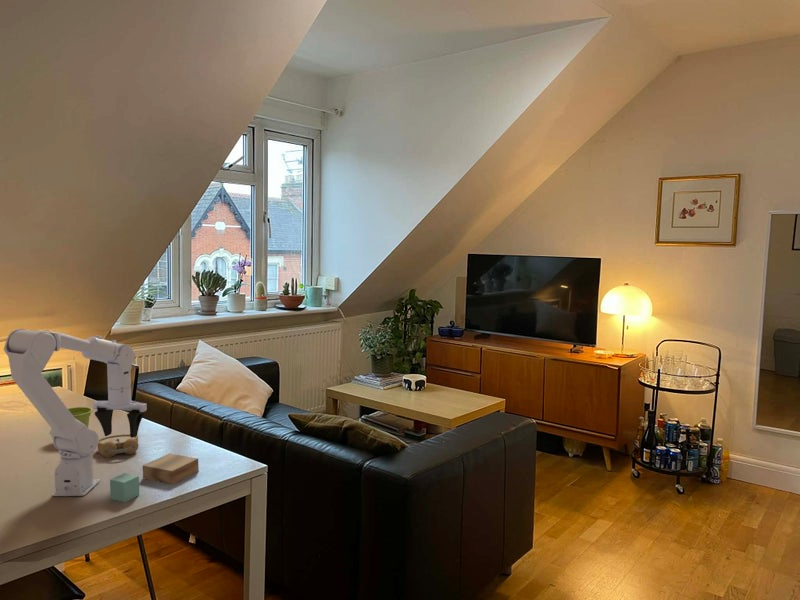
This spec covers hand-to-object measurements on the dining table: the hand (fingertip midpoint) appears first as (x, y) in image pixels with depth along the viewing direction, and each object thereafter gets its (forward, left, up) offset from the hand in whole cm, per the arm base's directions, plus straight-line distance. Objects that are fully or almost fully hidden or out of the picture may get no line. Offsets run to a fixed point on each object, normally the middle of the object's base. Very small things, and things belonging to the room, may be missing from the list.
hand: (120, 435), depth 169 cm
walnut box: (-4, -15, -10) cm, 18 cm away
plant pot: (+28, +24, -10) cm, 38 cm away
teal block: (-18, -8, -10) cm, 22 cm away
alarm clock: (+15, +6, -10) cm, 19 cm away
